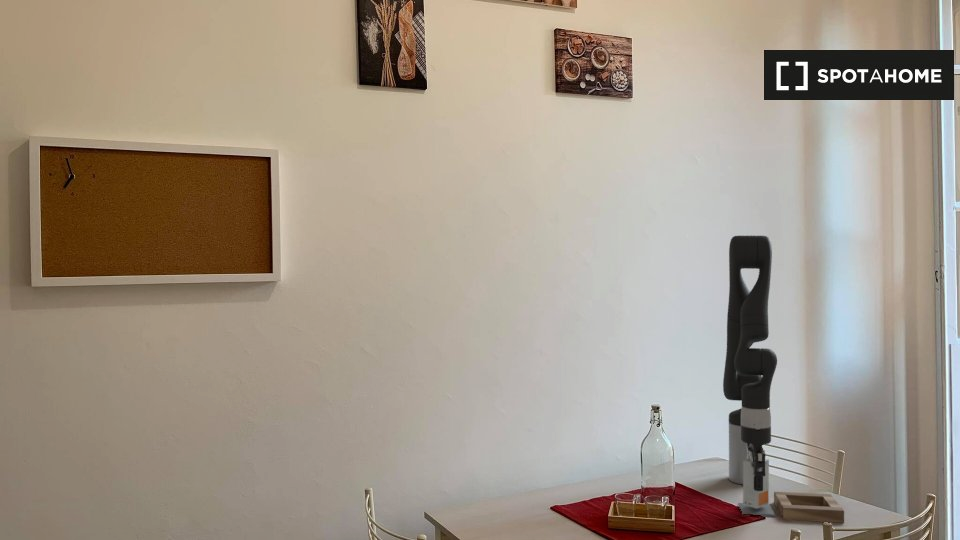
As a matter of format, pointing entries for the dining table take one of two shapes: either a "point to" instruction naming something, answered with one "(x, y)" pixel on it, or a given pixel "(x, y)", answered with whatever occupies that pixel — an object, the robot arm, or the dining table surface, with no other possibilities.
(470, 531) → the dining table surface
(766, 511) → the slate coaster
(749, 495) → the skincare box
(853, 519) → the dining table surface
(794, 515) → the socket block
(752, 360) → the robot arm
